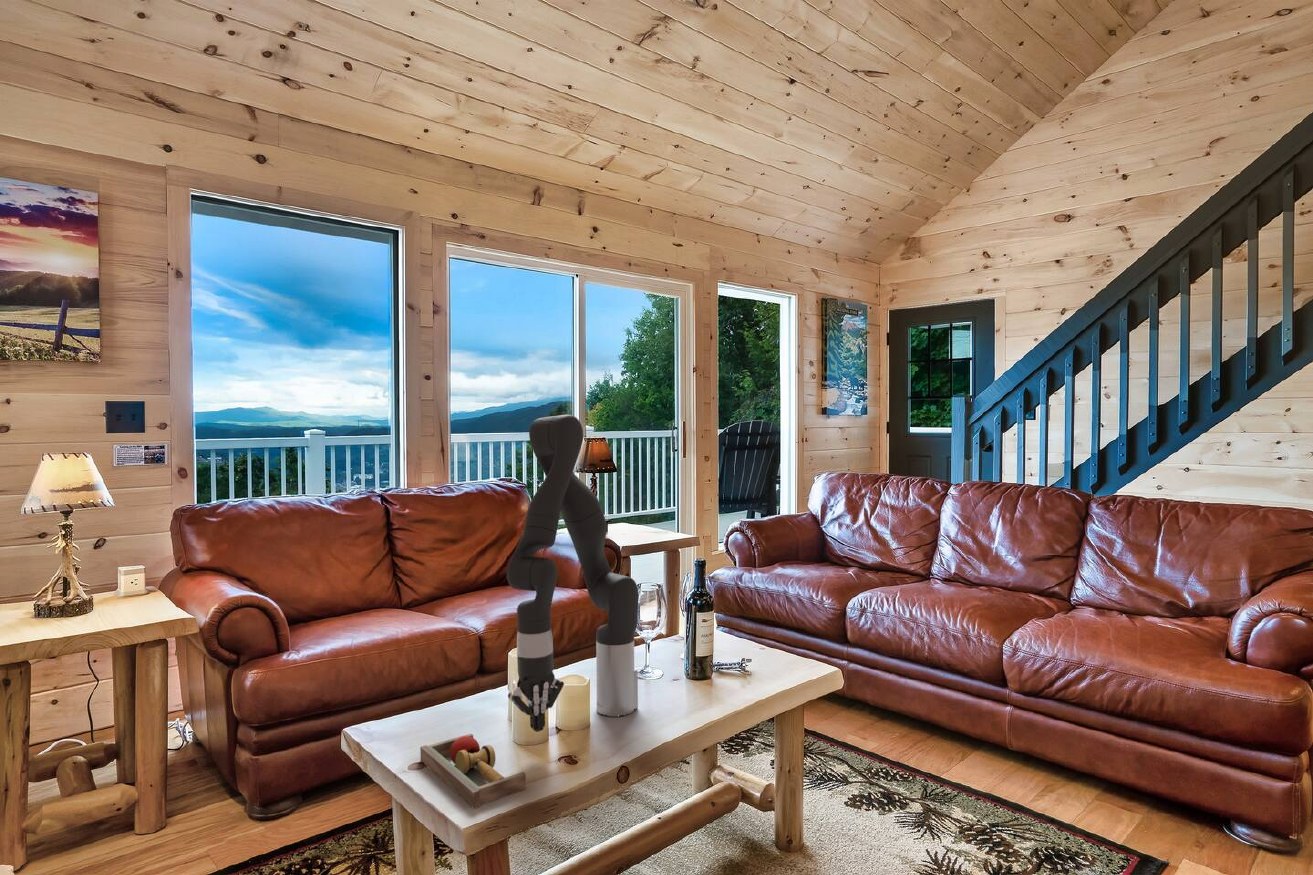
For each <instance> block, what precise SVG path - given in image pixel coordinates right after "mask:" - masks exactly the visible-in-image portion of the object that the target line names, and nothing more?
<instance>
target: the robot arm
mask: <svg viewBox="0 0 1313 875" xmlns="http://www.w3.org/2000/svg"><path fill="white" fill-rule="evenodd" d="M528 435H529V442H530V446H531V449H532V451H533V453H534V456H535V457H536V460H537V462H538V463H539V465H540V467H541V470H542V471H543V474H545V477H544V480H543V482H542V483H541V485H540V486H539V488H538V489H537V491H536V492H535V494H534V495H533V497H532V499H531V500H530V503H529V506H528V509H527V512H526V517H525V521H524V522H525V523H524V527H523V533H522V535H521V538H520V540H519V542H518V544H517V546H516V549H515V551H514V552H513V553H512V556H511V558H510V560H509V562H508V565H507V568H506V580H507V583H508V585H509V586H510V587H511V588H512V589H514V590H517V591H518V590H519V591H527V592H528V591H529V592H530V591H531V592H535V593H536V594H535V598H534V599H529V600H528V599H527V600H524V601H522V602H520V603H519V604H518V606H517V608H516V620H517V621H516V623H517V636H516V659H517V661H516V662H517V674H518V680H517V683H516V688H515V689H514V691H513V692H509V693H508V695H507V697H508V698H509V700H510V701H511V702H512V703H513V704H514V705H515V706H516V708H518V709H519V710H520V711H521V712H522V713H524V714H526V715H527V716H529V721H530V722H529V727H530V729H532V730H533V731H534V732H536V733H538V732H541V731H544V728H545V726H546V711H547V710H549V709H552V708H553V707H554V705H555V703H556V700H557V699H558V697H559V695H560V693H561V691H562V689H563V688H564V685H565V683H564V681H561V680H559V679H558V678H555V674H554V672H553V671H554V642H553V641H554V640H553V639H554V638H553V635H552V620H551V619H552V618H551V611H552V605H553V604H552V602H553V597H554V594H555V593H554V592H555V590H556V585H557V581H558V575H559V573H558V568H557V565H556V563H555V561H553V559H551V558H549V557H541V556H540V557H539V556H537V557H536V556H535V555H536V554H537V553H538V552H539V551H541V550H544V549H549V548H551V547H553V546H554V544H555V542H556V537H557V532H558V529H559V528H558V527H559V522H560V516H561V517H562V519H563V521H564V525H565V527H566V530H567V533H568V534H569V537H570V538H571V541H572V545H573V547H574V550H575V553H576V556H577V558H578V561H579V564H580V567H581V570H582V573H583V577H584V582H585V586H586V590H587V593H588V596H589V599H590V601H591V603H592V605H594V606H595V607H596V608H597V609H599V610H601V611H605V612H608V614H607V623H605V624H603V625H600V626H598V628H596V634H595V642H596V644H595V648H596V651H595V652H596V655H595V656H596V664H595V665H596V667H595V669H596V711H597V713H599V714H600V715H602V714H603V716H605V715H607V717H619V716H618V715H624V716H626V715H625V714H628V715H630V714H632V713H633V712H634V711H635V710H636V708H637V709H638V708H639V685H638V684H639V680H638V679H639V676H638V675H639V674H638V671H639V670H638V669H637V668H635V633H636V630H637V627H638V620H639V619H638V618H639V617H638V616H639V589H638V588H639V587H638V584H637V583H636V581H635V580H634V579H633V578H632V577H631V576H628V575H623V574H618V573H614V571H613V570H612V568H611V566H610V565H609V561H608V559H607V556H606V553H605V542H606V537H607V531H608V527H607V526H608V525H607V520H606V517H605V513H604V512H603V508H602V506H601V504H600V503H601V502H600V501H599V499H598V497H597V496H596V494H595V493H594V492H593V491H592V489H590V487H589V486H587V485H586V484H585V482H584V481H583V480H581V479H580V478H579V477H578V476H577V475H576V474H575V473H574V469H575V467H576V464H577V461H578V458H579V455H580V452H581V449H582V446H583V441H584V428H583V426H582V424H581V422H580V420H579V419H578V417H576V416H574V415H572V414H561V415H553V416H545V417H540V418H536V419H535V420H533V421H532V422H531V424H530V427H529V430H528ZM523 696H524V697H525V701H526V703H527V704H526V703H525V701H524V700H523ZM634 709H635V710H634Z"/></svg>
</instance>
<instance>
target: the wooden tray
mask: <svg viewBox="0 0 1313 875" xmlns="http://www.w3.org/2000/svg"><path fill="white" fill-rule="evenodd" d="M463 736H470V737H472V738H474V735H473V734H472V733H468V734H465V735H460V736H458V737H453V738H450V739H447V740H443V741H440V742H435V743H433V744H429V745H426V744H425V745H423V746H420V748H419V749H420V762H421V761H422V762H424V764H423V765H424V766H426V767H427V766H428V767H429V768H430V769H431V770H432V771H431V770H430V769H429V768H428V767H427V768H428V769H429V770H430V771H431V772H434V773H433V774H434V775H436V776H437V777H438V779H440V778H441V779H442V780H443V781H444V782H443V781H442V780H441V779H440V780H441V781H442V782H443V783H445V785H446V786H448V787H449V788H450V789H451V790H452V791H454V792H455V794H456V795H458V796H459V797H460V798H461V797H462V798H463V799H464V800H465V803H467V804H468V805H469V806H470V807H471V808H472V807H473V808H474V809H477V808H479V807H480V806H481V805H484V804H486V803H490V802H492V801H493V802H494V801H495V800H498V799H501V798H503V797H507V796H510V795H513V794H515V793H518V792H521V791H523V790H524V791H525V790H526V789H527V778H526V777H527V774H526V772H524V771H522V772H518V773H515V774H512V775H510V776H507V777H504V778H503V779H500V780H497V781H494V782H491V783H488V782H487V783H485V784H482V785H480V786H478V785H477V784H476V783H475V782H474V781H473V780H471V778H470V777H468V776H467V775H465V774H463V773H462V772H461V771H459V770H458V769H457V768H456V765H454V764H452V763H451V762H450V761H449V760H448V759H447V758H446V756H447V757H449V755H450V750H451V747H452V745H453V743H454V742H455V741H456V740H457V739H458V738H460V737H463ZM422 762H421V763H422ZM462 798H461V799H462ZM463 799H462V800H463ZM464 800H463V801H464ZM476 807H477V808H476ZM473 808H472V809H473Z"/></svg>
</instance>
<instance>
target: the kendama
mask: <svg viewBox="0 0 1313 875" xmlns="http://www.w3.org/2000/svg"><path fill="white" fill-rule="evenodd" d="M462 736H463V737H460V736H459V737H460V738H458V739H457V740H456V741H455V742H454V743H453V745H452V747H451V750H450V759H451V761H452V763H453V765H454V764H455V765H454V766H455V767H456V768H457V769H458V770H459V771H461V772H462V773H463V774H464V775H465V774H467V773H468V772H469V770H470V769H471V768H472V769H473V768H475V767H476V768H477V770H478V771H479V773H480V774H481V776H482V777H483V778H484V779H485V781H486V782H487V784H488V783H491V782H494V781H497V780H500V779H503V778H505V776H503V775H502V774H500V772H498V771H497V770H496V769H494V766H495V764H496V751H495V749H494V747H493V746H492V745H491V744H487V745H482V747H481V748H480V744H479V742H478V741H477V739H476V738H474V737H473V738H472V737H470V736H464V735H462Z"/></svg>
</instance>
